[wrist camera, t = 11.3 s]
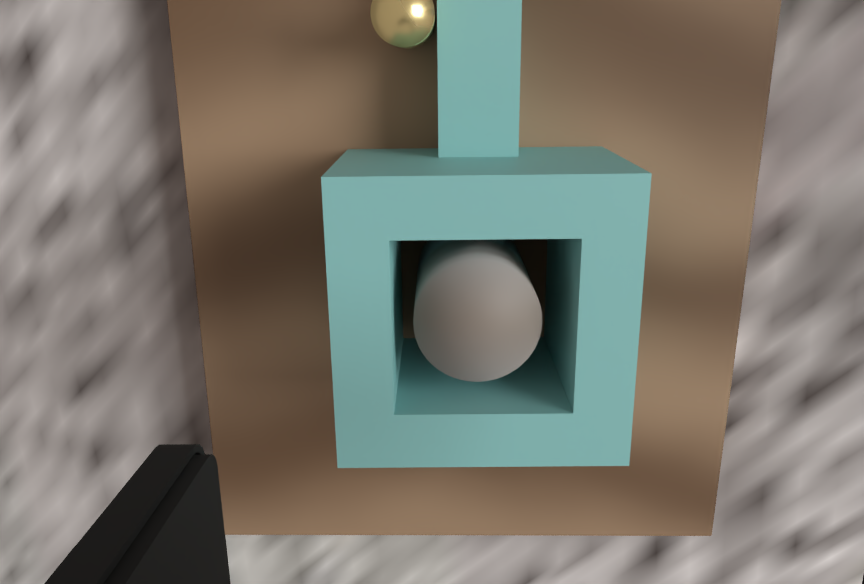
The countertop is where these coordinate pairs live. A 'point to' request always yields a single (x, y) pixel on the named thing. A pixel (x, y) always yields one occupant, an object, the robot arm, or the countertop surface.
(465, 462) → the teal square scoop
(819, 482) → the countertop surface
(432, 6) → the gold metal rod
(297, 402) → the post base
